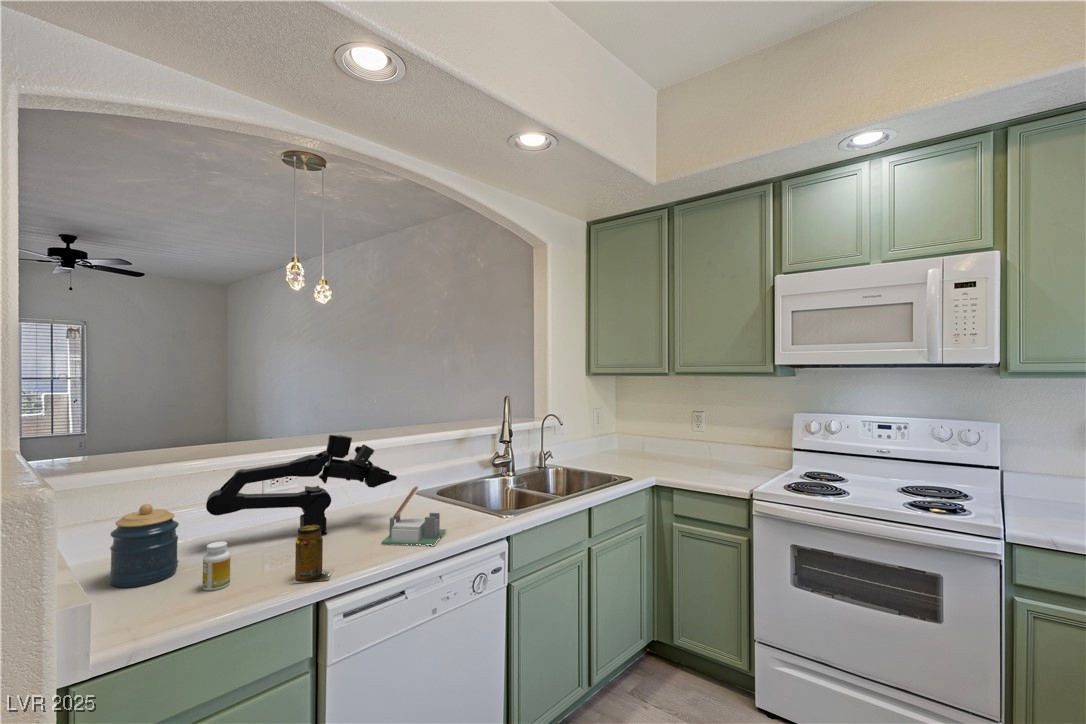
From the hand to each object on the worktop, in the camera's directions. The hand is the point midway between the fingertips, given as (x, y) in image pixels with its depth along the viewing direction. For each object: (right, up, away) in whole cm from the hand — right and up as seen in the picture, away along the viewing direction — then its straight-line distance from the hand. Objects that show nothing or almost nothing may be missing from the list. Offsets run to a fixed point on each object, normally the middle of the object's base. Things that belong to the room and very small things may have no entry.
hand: (392, 475), depth 167 cm
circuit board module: (+11, -15, -16) cm, 24 cm away
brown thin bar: (+5, -9, -15) cm, 18 cm away
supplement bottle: (-26, -15, -50) cm, 58 cm away
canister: (-47, -15, -45) cm, 66 cm away
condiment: (-6, -15, -44) cm, 47 cm away
